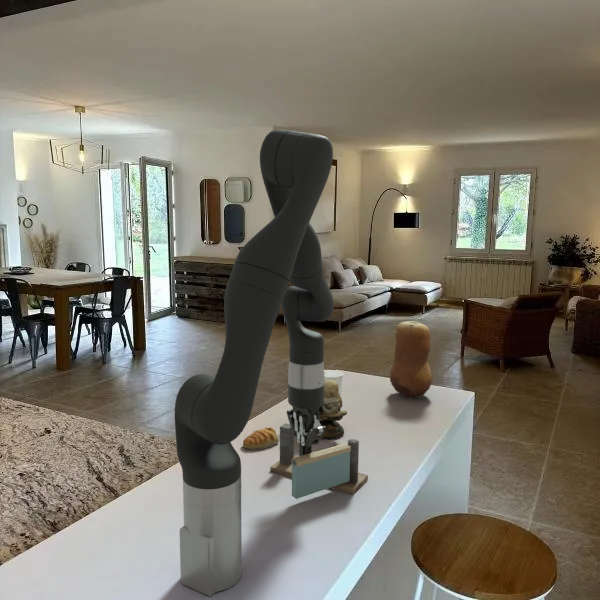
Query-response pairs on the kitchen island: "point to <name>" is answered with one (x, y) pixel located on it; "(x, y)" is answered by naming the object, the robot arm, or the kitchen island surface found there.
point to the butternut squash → (411, 360)
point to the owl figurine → (331, 411)
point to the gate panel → (320, 470)
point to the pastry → (261, 439)
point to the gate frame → (288, 453)
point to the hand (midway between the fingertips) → (305, 459)
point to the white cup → (334, 378)
